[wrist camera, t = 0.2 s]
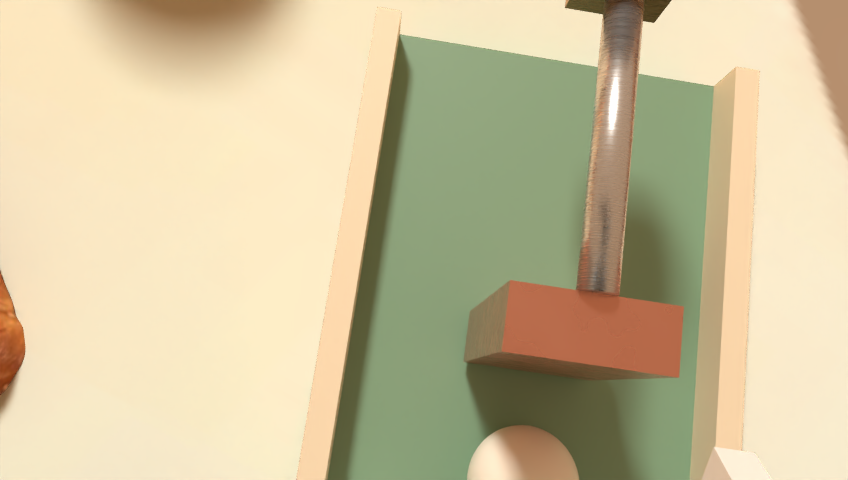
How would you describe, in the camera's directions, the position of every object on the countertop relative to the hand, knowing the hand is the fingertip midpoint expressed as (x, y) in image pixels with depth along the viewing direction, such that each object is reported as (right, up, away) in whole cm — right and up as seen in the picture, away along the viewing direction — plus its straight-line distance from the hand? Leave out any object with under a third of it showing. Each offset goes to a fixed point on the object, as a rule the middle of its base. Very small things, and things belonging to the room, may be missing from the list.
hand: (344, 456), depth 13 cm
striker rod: (+6, +6, +17) cm, 19 cm away
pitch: (+5, -1, +17) cm, 18 cm away
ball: (+5, -5, +13) cm, 15 cm away
